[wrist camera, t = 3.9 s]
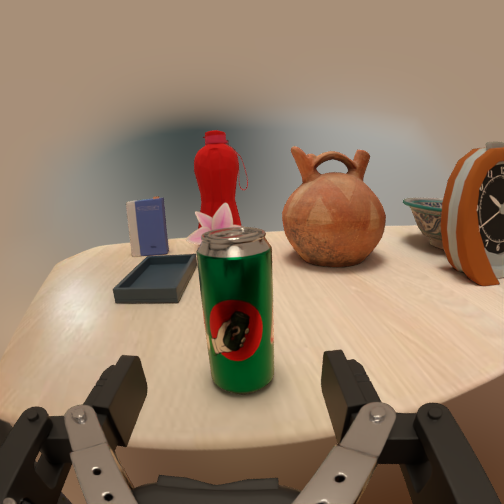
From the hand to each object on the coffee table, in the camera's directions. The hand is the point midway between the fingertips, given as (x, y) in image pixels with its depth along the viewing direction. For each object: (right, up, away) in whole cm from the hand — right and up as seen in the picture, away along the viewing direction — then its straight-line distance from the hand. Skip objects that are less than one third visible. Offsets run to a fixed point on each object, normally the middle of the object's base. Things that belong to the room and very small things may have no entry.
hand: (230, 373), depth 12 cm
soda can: (0, -5, +11) cm, 13 cm away
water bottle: (-5, +6, +55) cm, 55 cm away
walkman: (-21, +5, +51) cm, 56 cm away
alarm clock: (+43, +1, +28) cm, 52 cm away
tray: (-13, 0, +34) cm, 37 cm away
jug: (+16, +4, +42) cm, 45 cm away
